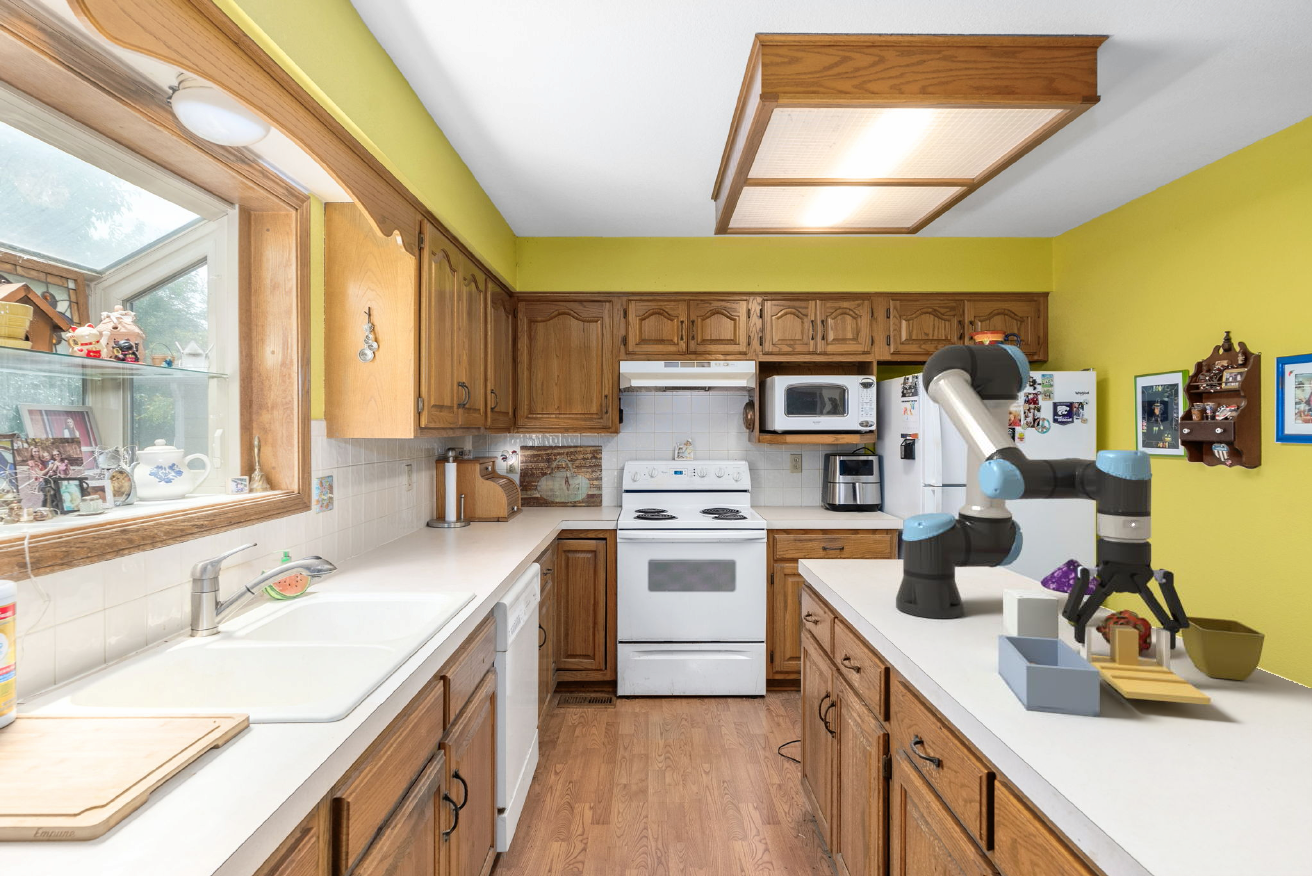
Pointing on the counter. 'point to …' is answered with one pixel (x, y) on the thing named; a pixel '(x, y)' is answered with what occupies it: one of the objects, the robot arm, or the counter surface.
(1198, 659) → the flower pot
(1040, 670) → the tub
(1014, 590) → the supplement box
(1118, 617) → the dragon fruit
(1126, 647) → the lid
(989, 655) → the counter surface
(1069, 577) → the decorative mushroom
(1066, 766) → the counter surface
